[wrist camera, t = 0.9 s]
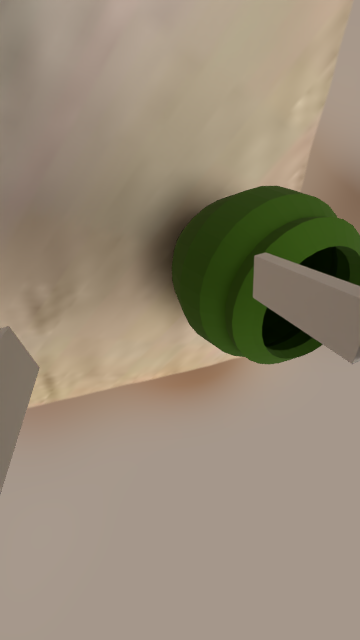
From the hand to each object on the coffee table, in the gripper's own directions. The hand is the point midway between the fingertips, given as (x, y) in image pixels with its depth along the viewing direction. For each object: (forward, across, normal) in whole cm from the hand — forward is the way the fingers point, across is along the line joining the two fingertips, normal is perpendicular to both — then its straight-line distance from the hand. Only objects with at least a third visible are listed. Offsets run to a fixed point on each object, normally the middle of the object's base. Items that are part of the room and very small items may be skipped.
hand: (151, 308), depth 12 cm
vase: (+26, +14, -6) cm, 31 cm away
